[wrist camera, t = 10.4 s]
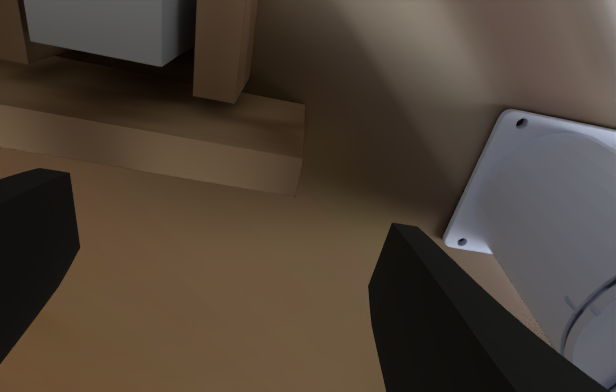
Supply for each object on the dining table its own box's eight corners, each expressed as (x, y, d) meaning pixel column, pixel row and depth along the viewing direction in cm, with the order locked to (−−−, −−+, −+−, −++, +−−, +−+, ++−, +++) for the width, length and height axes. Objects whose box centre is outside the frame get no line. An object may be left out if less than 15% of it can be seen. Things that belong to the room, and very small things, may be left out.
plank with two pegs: (327, -9, 15) (336, 2, 10) (299, 134, 19) (295, 197, 13) (-41, -91, 14) (-242, -126, 9) (-5, 77, 17) (-139, 123, 12)
